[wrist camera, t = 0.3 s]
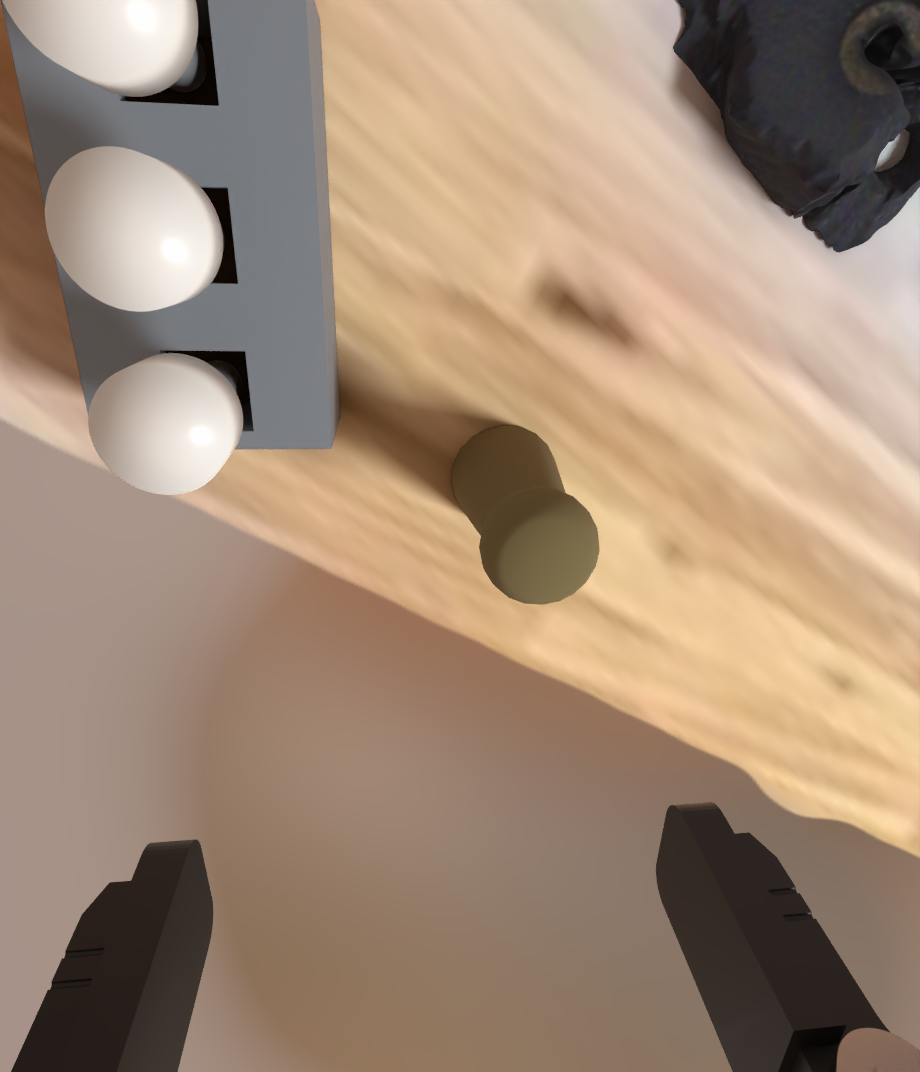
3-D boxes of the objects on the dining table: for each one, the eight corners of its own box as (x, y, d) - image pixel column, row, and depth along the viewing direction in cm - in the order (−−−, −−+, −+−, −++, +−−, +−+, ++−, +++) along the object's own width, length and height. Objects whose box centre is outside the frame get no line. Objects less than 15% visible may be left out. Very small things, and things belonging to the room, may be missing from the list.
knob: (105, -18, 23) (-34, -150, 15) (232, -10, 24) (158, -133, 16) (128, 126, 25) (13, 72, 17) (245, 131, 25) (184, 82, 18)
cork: (568, 505, 38) (633, 598, 28) (471, 540, 38) (501, 645, 28) (539, 409, 35) (599, 473, 25) (435, 447, 36) (455, 526, 26)
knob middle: (135, 173, 26) (28, 142, 18) (249, 177, 26) (193, 149, 18) (154, 292, 27) (63, 310, 20) (260, 294, 28) (213, 312, 20)
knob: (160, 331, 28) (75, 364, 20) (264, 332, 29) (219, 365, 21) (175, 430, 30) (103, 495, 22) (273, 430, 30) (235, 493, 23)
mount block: (70, 4, 26) (-12, -59, 21) (319, 20, 27) (303, -36, 22) (143, 416, 33) (95, 450, 28) (340, 416, 34) (331, 448, 29)
